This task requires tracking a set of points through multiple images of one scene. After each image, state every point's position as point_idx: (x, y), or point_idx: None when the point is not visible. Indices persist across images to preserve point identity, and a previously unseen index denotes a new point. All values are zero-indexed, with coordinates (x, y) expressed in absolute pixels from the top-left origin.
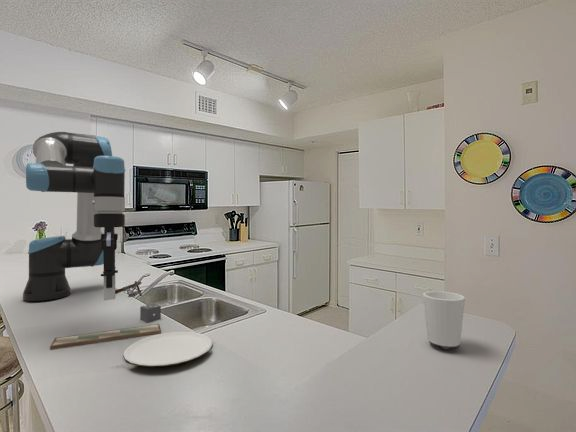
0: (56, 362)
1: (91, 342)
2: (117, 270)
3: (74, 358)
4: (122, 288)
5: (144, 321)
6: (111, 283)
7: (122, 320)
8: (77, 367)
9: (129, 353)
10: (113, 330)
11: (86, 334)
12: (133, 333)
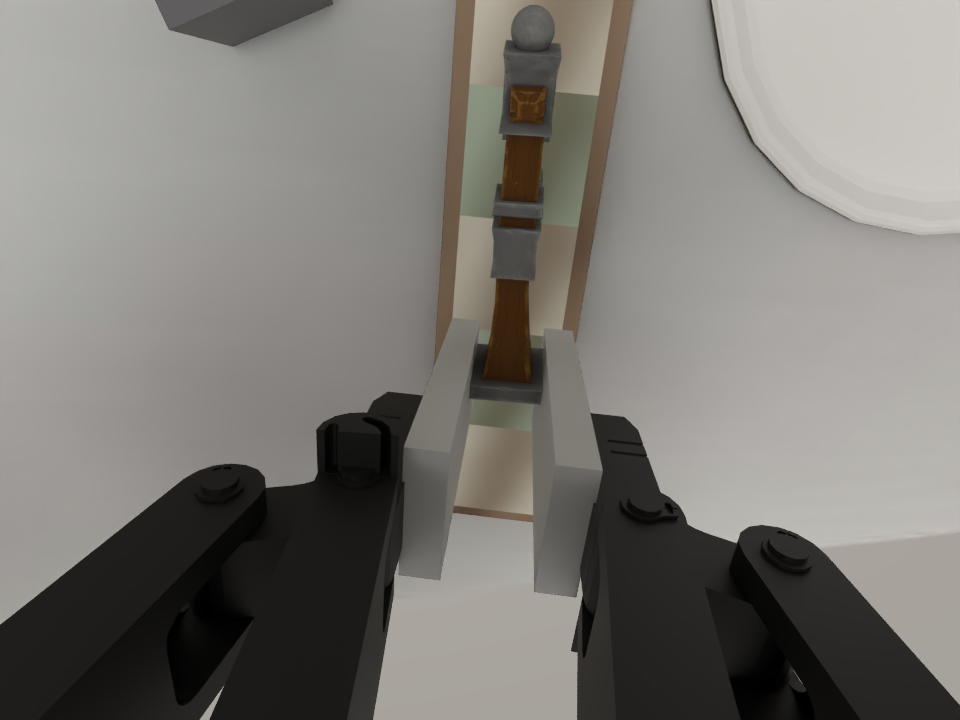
0: (729, 490)
1: None
2: (342, 436)
3: (734, 432)
4: (525, 283)
5: (292, 19)
6: (643, 455)
7: (189, 174)
8: (860, 423)
9: (894, 198)
10: (449, 253)
11: None
12: (592, 141)
